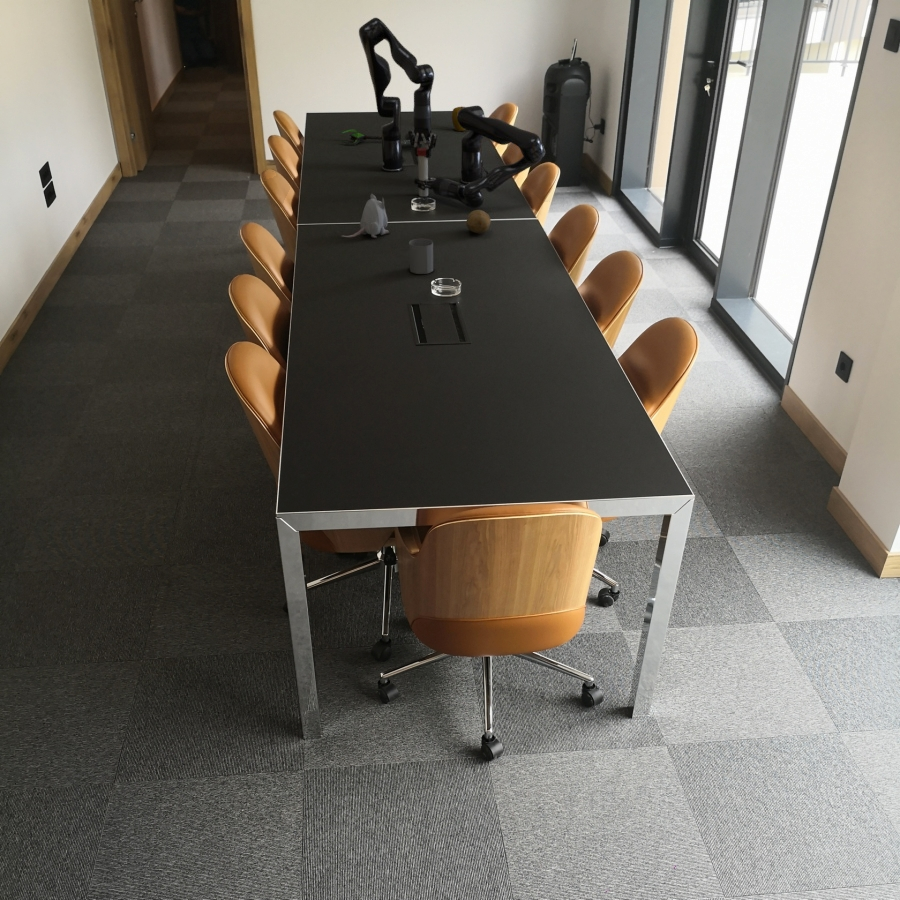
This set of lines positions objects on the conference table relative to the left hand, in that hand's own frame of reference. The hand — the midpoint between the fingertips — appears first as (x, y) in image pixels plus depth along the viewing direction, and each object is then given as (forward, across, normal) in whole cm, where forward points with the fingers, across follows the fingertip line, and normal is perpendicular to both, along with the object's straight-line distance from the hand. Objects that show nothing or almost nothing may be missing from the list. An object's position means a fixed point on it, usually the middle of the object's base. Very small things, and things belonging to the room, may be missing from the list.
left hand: (423, 156), depth 376 cm
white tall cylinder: (+17, 0, 0) cm, 17 cm away
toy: (+17, +13, -60) cm, 64 cm away
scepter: (+17, -79, +64) cm, 103 cm away
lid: (-3, 0, 0) cm, 3 cm away
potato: (+17, +46, -30) cm, 58 cm away
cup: (+17, +51, -76) cm, 93 cm away
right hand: (+10, -3, +1) cm, 11 cm away
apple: (+17, -52, +115) cm, 128 cm away
